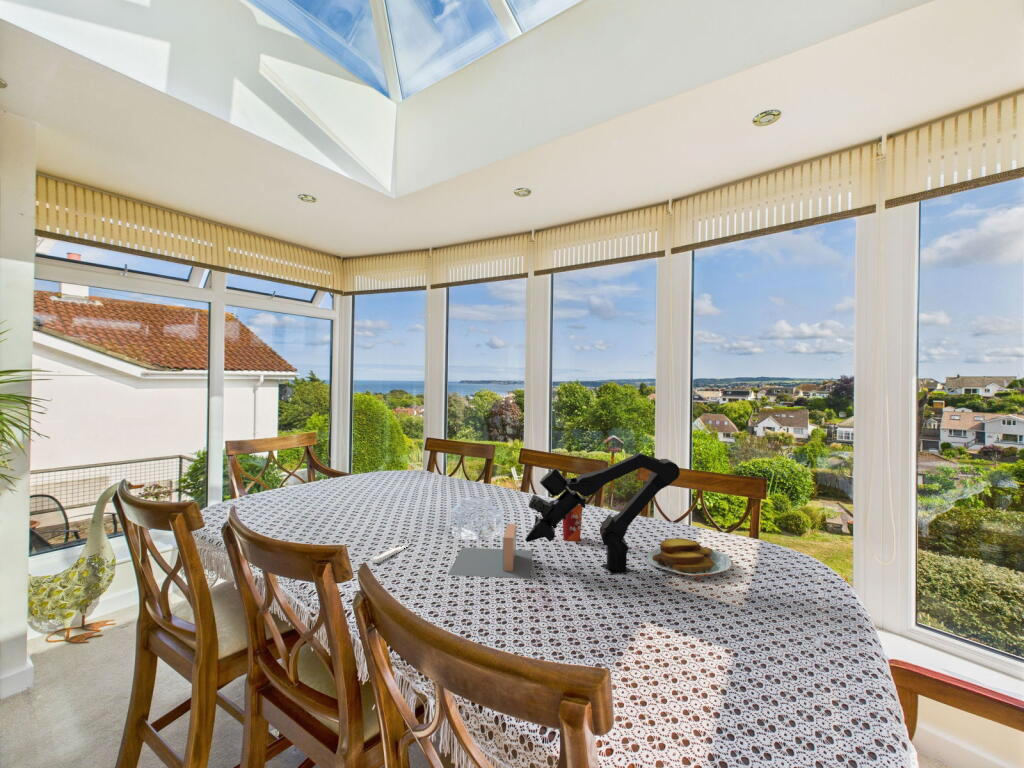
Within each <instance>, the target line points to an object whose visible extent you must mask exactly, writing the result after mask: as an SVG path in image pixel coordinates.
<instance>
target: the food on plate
mask: <svg viewBox="0 0 1024 768" xmlns="http://www.w3.org/2000/svg"><path fill="white" fill-rule="evenodd" d="M645 556H646V560H647V562H648V563H649V564H650V565H652V566H653V567H657V568H659V569H661V570H666V571H670V572H674V573H676V574H679V575H683V576H684V575H685V576H687V577H697V578H696V579H695V581H697V582H700V580H701V579H700V578H701V577H706V576H713V575H715V574H719V573H720V574H721V573H724V572H726V574H728V573H729V572H728V570H729V569H730V568H732V567H733V566H734V563H733V560H732V559H731V558H730V557H729V556H728V554H724V553H723V552H720V551H717V549H712V548H710V547H704V546H701V545H700V543H699V542H697V541H695V540H691V539H688V538H677V537H674V538H667V539H664V540H662V541H661V542H660V544H659V546H657V547H656V548H655V547H654V548H653V549H650V551H648V553H646V555H645ZM665 567H666V568H665Z"/></svg>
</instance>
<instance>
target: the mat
mask: <svg viewBox="0 0 1024 768" xmlns="http://www.w3.org/2000/svg"><path fill="white" fill-rule="evenodd" d="M533 551H534V550H533V549H532V550H527V549H516V557H515V563H514V568H513V571H503V548H479V547H461V548H460V550H459V553H458V554H457V556H456V558H455V560H454V562H453V564H452V566H451V567H450V569H449V571H448V574H447V576H458V577H460V576H461V577H477V578H478V577H481V578H499V579H500V578H504V579H525V580H526V579H527V580H530V579H531V573H532V562H533V554H534V553H533Z"/></svg>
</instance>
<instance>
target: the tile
mask: <svg viewBox="0 0 1024 768" xmlns="http://www.w3.org/2000/svg"><path fill="white" fill-rule="evenodd" d="M502 540H503V541H502V549H503V571H513V568H514V563H515V557H516V550H517V523H507V525H506V528H505V531H504V535H503V538H502Z"/></svg>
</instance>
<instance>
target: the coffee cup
mask: <svg viewBox="0 0 1024 768" xmlns="http://www.w3.org/2000/svg"><path fill="white" fill-rule="evenodd" d="M582 519H583V507H582V506H581V505H580V504H579V505H577V506H576V507H575V508H574V509H573V510H572V511H571V512H570V513H569V514H568V515H567V518H566V519H565V520H564V519H563V520H562V535H563V541H564V542H575V543H578V542H580V541H581V534H582V532H581V531H582V522H583V521H582Z"/></svg>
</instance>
